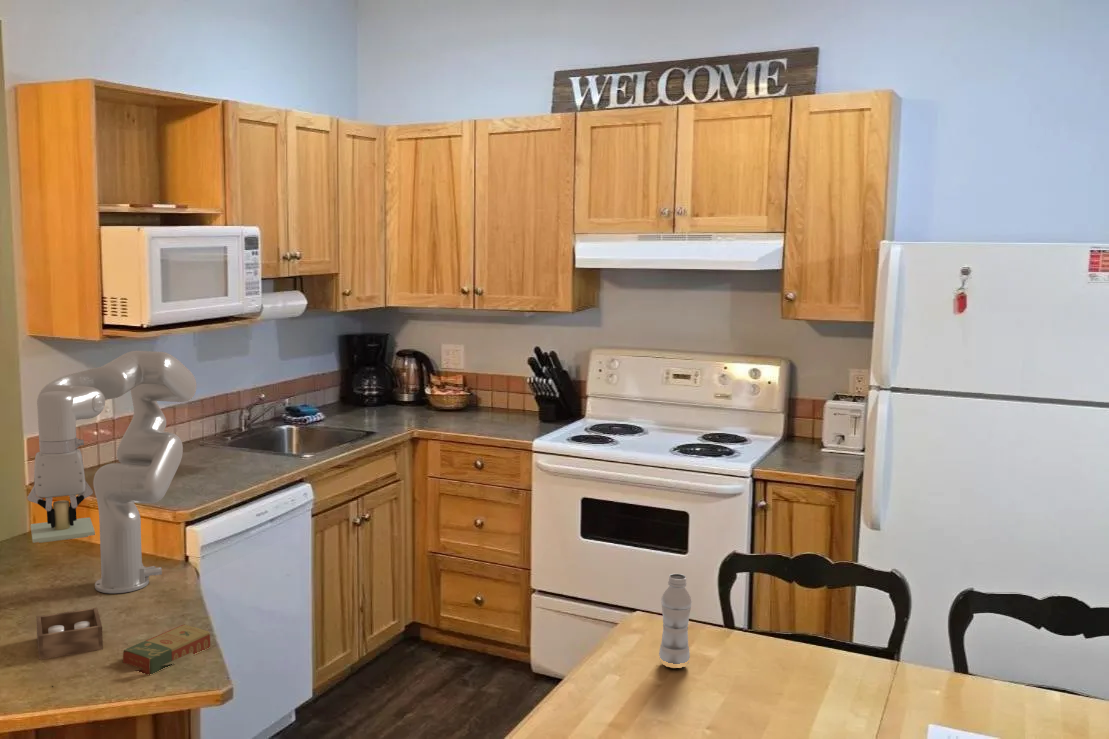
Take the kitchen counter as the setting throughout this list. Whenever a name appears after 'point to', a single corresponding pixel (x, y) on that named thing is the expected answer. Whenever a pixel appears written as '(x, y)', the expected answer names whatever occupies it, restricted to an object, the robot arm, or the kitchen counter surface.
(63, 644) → the tea box
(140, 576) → the robot arm
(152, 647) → the carton
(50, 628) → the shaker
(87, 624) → the shaker
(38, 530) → the lid
